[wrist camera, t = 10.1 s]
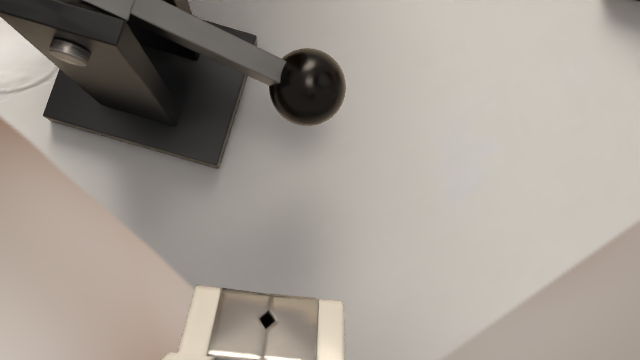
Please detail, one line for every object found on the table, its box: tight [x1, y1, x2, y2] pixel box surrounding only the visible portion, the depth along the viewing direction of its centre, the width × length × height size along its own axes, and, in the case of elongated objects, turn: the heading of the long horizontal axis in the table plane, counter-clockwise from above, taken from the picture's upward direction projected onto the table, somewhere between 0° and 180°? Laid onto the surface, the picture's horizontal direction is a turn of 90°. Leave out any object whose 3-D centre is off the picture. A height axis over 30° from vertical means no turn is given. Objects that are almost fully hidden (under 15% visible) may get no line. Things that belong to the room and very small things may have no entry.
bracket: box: [0, 0, 257, 168], centre depth 27 cm, size 10×8×14 cm
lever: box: [58, 0, 346, 126], centre depth 24 cm, size 13×4×4 cm, turn 74°
